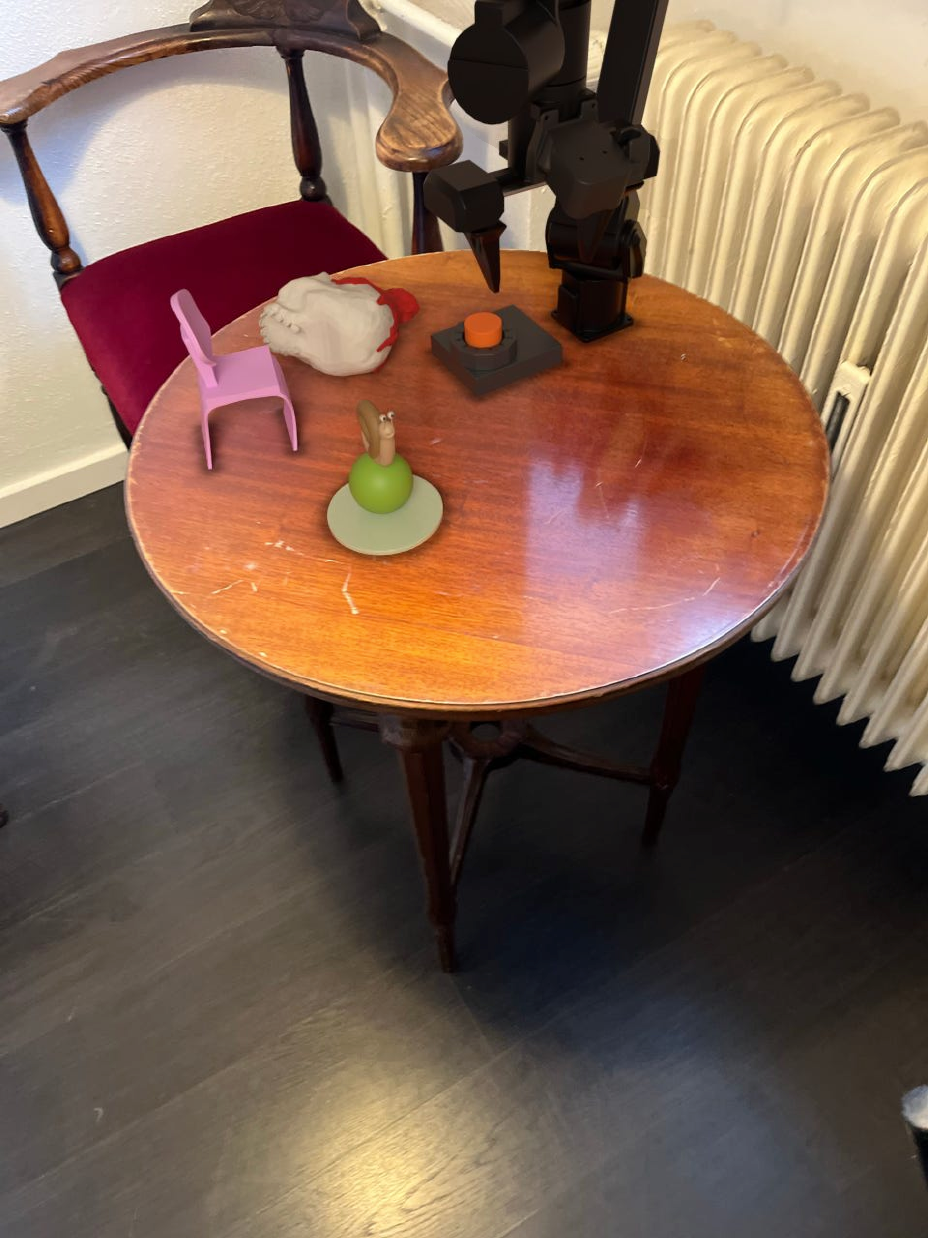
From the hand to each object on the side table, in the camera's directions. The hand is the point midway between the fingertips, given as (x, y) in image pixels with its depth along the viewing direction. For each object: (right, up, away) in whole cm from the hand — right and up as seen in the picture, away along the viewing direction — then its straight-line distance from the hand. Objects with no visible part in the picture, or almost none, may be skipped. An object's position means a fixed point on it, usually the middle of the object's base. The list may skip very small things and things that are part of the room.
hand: (540, 275), depth 76 cm
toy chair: (-27, -13, +8) cm, 31 cm away
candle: (-18, -3, +16) cm, 24 cm away
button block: (-3, -3, +15) cm, 15 cm away
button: (-5, -2, +11) cm, 12 cm away
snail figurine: (-13, -20, +1) cm, 24 cm away
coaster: (-13, -20, +1) cm, 24 cm away
